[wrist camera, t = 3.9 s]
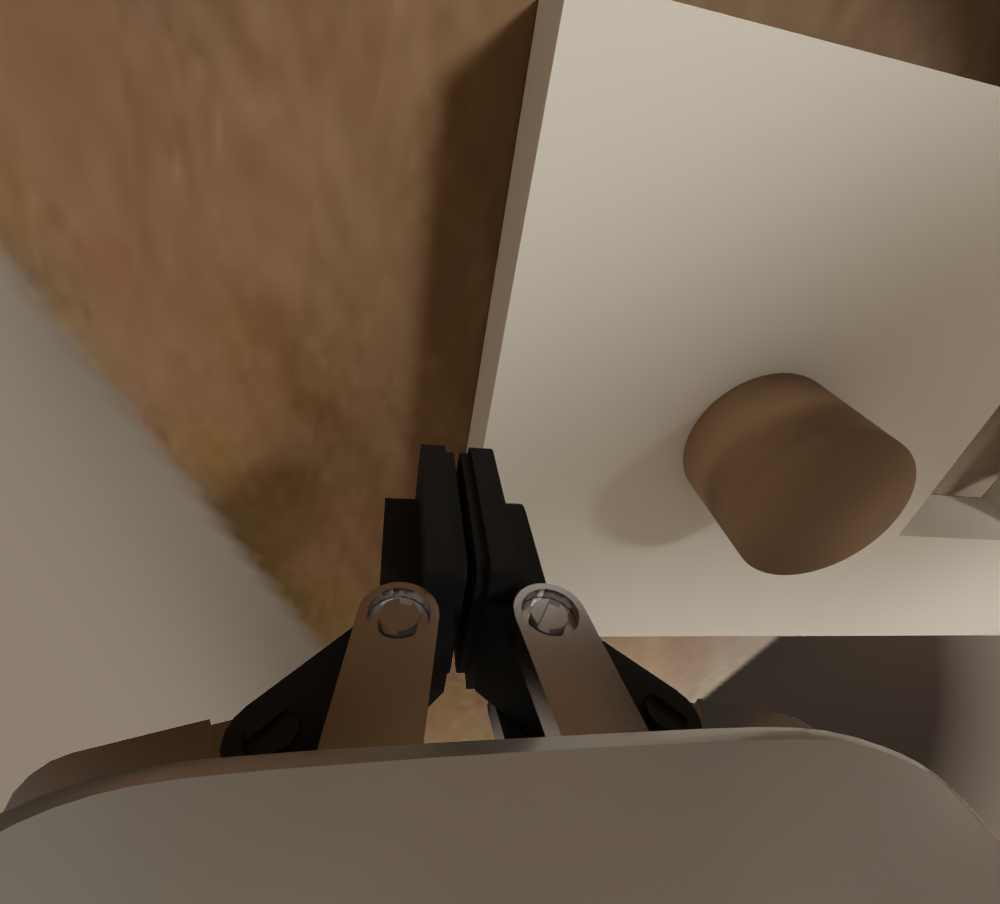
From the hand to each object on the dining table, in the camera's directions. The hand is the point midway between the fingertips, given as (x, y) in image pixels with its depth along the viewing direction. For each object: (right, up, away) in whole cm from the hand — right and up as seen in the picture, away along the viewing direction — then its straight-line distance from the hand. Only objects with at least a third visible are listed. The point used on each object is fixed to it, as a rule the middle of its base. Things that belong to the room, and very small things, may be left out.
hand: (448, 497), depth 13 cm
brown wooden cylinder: (+10, +1, +5) cm, 11 cm away
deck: (+14, +3, +8) cm, 17 cm away
